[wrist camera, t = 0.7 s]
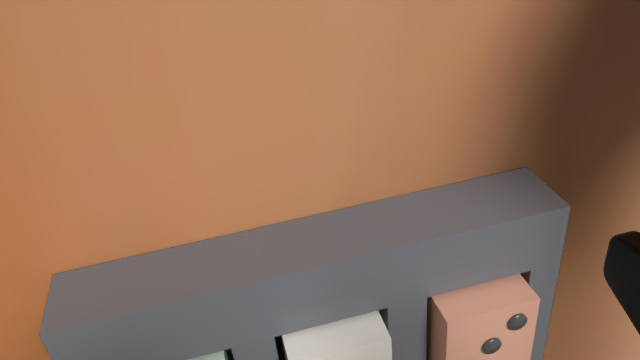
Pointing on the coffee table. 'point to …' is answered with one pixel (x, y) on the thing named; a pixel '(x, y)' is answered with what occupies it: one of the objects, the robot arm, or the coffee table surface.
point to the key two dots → (213, 356)
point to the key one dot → (341, 340)
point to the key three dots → (483, 321)
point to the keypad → (314, 275)
